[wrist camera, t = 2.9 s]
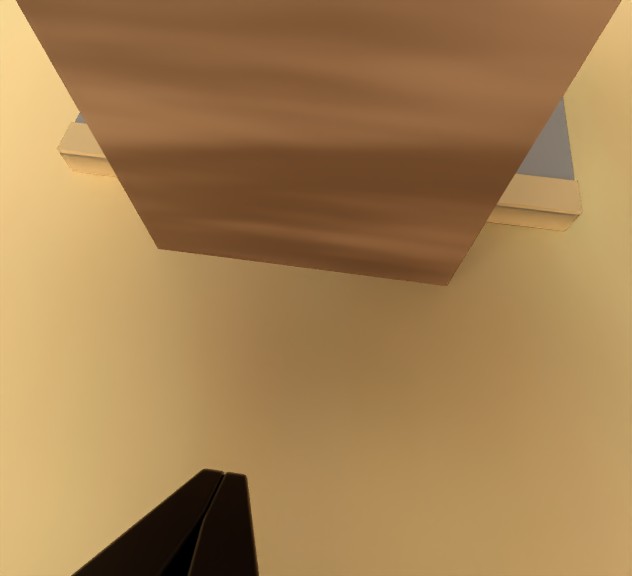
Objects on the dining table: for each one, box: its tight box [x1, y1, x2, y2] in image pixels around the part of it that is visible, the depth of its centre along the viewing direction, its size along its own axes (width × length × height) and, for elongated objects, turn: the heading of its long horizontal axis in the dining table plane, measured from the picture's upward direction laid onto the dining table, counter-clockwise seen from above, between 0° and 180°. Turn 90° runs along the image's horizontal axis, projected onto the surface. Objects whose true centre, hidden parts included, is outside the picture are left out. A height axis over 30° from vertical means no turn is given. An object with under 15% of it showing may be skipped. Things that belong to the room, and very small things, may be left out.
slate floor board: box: [57, 97, 582, 231], centre depth 24 cm, size 18×22×1 cm
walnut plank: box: [16, 0, 621, 286], centre depth 13 cm, size 3×12×14 cm, turn 82°
